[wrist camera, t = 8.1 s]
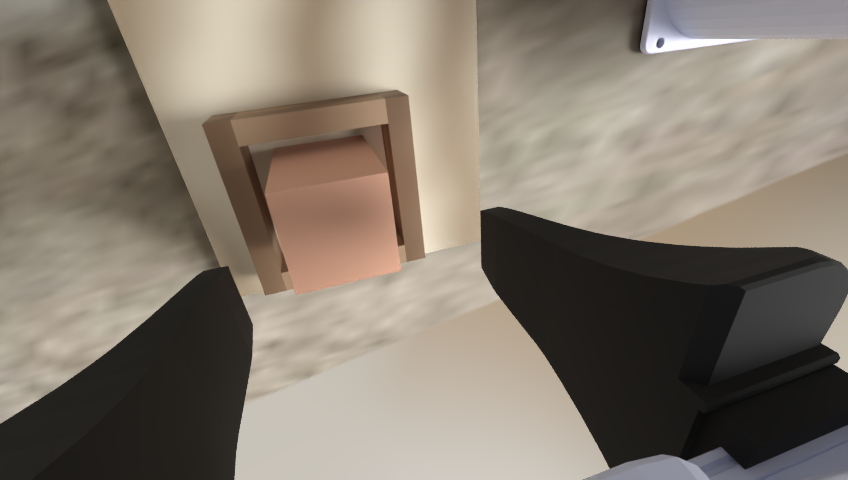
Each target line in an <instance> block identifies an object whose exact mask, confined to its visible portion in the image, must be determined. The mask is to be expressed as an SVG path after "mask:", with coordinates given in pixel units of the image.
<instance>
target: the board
mask: <svg viewBox="0 0 848 480" xmlns="http://www.w3.org/2000/svg"><path fill="white" fill-rule="evenodd" d="M107 1H108V3H109V6H110V8H111V10H112V13H113V15H114V17H115V20H116V22H117V25H118V27H119V29H120V32H121V34H122V36H123V39H124V41H125V43H126V46H127V48H128V50H129V53H130V55H131V57H132V60H133V62H134V64H135V67H136V69H137V72H138V74H139V76H140V79H141V81H142V83H143V86H144V88H145V90H146V93H147V95H148V97H149V100H150V102H151V104H152V107H153V109H154V112H155V114H156V116H157V119H158V121H159V123H160V126H161V128H162V130H163V133H164V135H165V137H166V140H167V142H168V144H169V147H170V149H171V151H172V154H173V156H174V159H175V161H176V163H177V166H178V168H179V170H180V173H181V175H182V177H183V180H184V182H185V184H186V187H187V189H188V191H189V194H190V196H191V199H192V201H193V203H194V206H195V208H196V210H197V213H198V215H199V217H200V220H201V222H202V224H203V227H204V229H205V231H206V234H207V236H208V239H209V241H210V243H211V246H212V248H213V250H214V253H215V255H216V257H217V260H218V262H219V264H220V267H225V266H228V267H229V269H230V272H231V274H232V276H233V279H234V281H235V284H236V286H237V288H238V291H239V293H240V295H241V296H245V295H249V294H254V293H258V292H262V291H264V293H265V295H269V294H273V293H278V292H282V291H286V290H290V289H294V287H293V284H292V280H291V277H290V274H289V271H288V267H287V264H286V261H285V258H284V255H283V251H282V248H281V245H280V242H279V238H278V235H277V232H276V229H275V226H274V222H273V219H272V216H271V213H270V209H269V206H268V203H267V200H266V197H265V190H266V185H267V180H268V176H269V171H270V166H271V161H272V156H273V152H274V148H278V147H284V146H291V145H298V144H304V143H311V142H317V141H324V140H331V139H337V138H344V137H350V136H357V135H363V137H364V138H365V140H366V141H367V143H368V144H369V146H370V147H371V148H372V150H373V151H374V153H375V154H376V156H377V157H378V159H379V160H380V161H381V163H382V164H383V166H384V167H385V169H386V170H387V172H388V176H389V184H390V191H391V198H392V206H393V213H394V221H395V228H396V236H397V243H398V251H399V258H400V263H404V262H408V261H413V260H417V259H421V258H425V253H429V252H433V251H437V250H441V249H446V248H450V247H454V246H458V245H463V244H467V243H471V242H476V241H480V240H481V231H480V178H479V124H478V70H477V17H476V0H107Z"/></svg>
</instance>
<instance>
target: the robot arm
mask: <svg viewBox="0 0 848 480" xmlns="http://www.w3.org/2000/svg"><path fill="white" fill-rule="evenodd" d="M757 39H848V0H648V2H647V8H646V14H645V20H644V26H643V32H642V38H641V43H640V50H641V52H642V53H643V54H654V53H662V52H669V51H676V50H684V49H691V48H698V47H705V46H713V45H720V44H727V43H735V42H742V41H749V40H757ZM658 40H659V43H658V45H657V46H656V43H657V41H658ZM480 216H481V264H482V269H483V271H484V273H485V275H486V276H487V278H488V280H489V282H490V284H491V285H492V287H493V289H494V290H495V292H496V293H497V295H498V296H499V297H500V299H501V300H502V301H503V302H504V304H505V305H506V306H507V307H508V309H509V310H510V311H511V313H512V314H513V315H514V316H515V318H516V319H517V320H518V321H519V323H520V324H521V325H522V326H523V328H524V329H525V330H526V331H527V333H528V334H529V335H530V337H531V338H532V339H533V340H534V342H535V343H536V344H537V346H538V347H539V348H540V350H541V351H542V352H543V354H544V355H545V357H546V358H547V360H548V361H549V363H550V365H551V366H552V368H553V369H554V371H555V373H556V374H557V376H558V377H559V379H560V381H561V382H562V384H563V385H564V387H565V389H566V391H567V392H568V394H569V395H570V397H571V399H572V401H573V402H574V404H575V406H576V408H577V409H578V411H579V413H580V414H581V416H582V418H583V420H584V421H585V423H586V425H587V427H588V429H589V431H590V432H591V434H592V436H593V438H594V440H595V442H596V443H597V445H598V447H599V449H600V451H601V452H602V454H603V456H604V458H605V460H606V462H607V464H608V466H609V468H610V469H609V470H606V471H604V472H601V473H599V474H596V475H593V476H591V477H588V478H586V479H584V480H848V373H847V372H845V371H843V370H842V369H840V368H838V367H837V366H835V365H834V364H835V363H837V362H838V360H839V359H840V357H839V354H838V353H837V352H835V351H833V350H832V349H830V348H828V347H827V346H825V345H823V344H821V342H822V340H823V338H824V336H825V335H826V333H827V331H828V330H829V328H830V326H831V324H832V322H833V321H834V319H835V317H836V316H837V314H838V312H839V311H840V309H841V307H842V305H843V303H844V301H845V298H846V296H847V294H848V270H847V268H846V267H845V266H844V265H843V264H842V263H841V262H839V261H836V260H834V259H831V258H829V257H827V256H824V255H822V254H819V253H817V252H814V251H812V250H808V249H804V248H799V247H770V248H769V247H767V248H766V247H765V248H724V247H700V246H685V245H672V244H664V243H654V242H645V241H638V240H631V239H626V238H620V237H614V236H609V235H604V234H599V233H594V232H590V231H586V230H582V229H578V228H574V227H570V226H567V225H563V224H560V223H556V222H553V221H549V220H546V219H543V218H540V217H536V216H533V215H530V214H526V213H523V212H520V211H516V210H512V209H508V208H503V207H496V208H491V209H487V210H482V211H480ZM252 345H253V324H252V322H251V319H250V317H249V315H248V312H247V310H246V307H245V305H244V303H243V300H242V298H241V295H240V293H239V291H238V288H237V286H236V284H235V281H234V279H233V276H232V274H231V272H230V269H229V267H228V266H225V267H220V268H216V269H211V270H207V271H203V272H202V273H200V274H199V275H197V276H196V277H195V278H194V279H192V280H191V281H190V282H189V283H188V284H187V285H185V286H184V287H183V288H182V289H181V290H180V291H179V292H178V293H176V294H175V295H174V296H173V297H172V298H171V299H170V300H169V301H168V302H166V303H165V304H164V305H163V306H162V307H161V308H160V309H159V310H157V311H156V312H155V313H154V314H153V315H152V316H151V317H150V318H148V319H147V320H146V321H145V322H144V323H142V324H141V325H140V326H139V327H138V328H136V329H135V330H134V331H133V332H132V333H130V334H129V335H128V336H127V337H125V338H124V339H123V340H122V341H121V342H119V343H118V344H117V345H116V346H115V347H113V348H112V349H111V350H109V351H108V352H107V353H106V354H104V355H103V356H102V357H100V358H99V359H98V360H96V361H95V362H94V363H92V364H91V365H90V366H88V367H87V368H85V369H84V370H82V371H81V372H80V373H78V374H77V375H75V376H74V377H73V378H71V379H70V380H68V381H67V382H65V383H64V384H62V385H61V386H60V387H58V388H57V389H55V390H54V391H52V392H50V393H49V394H47V395H46V396H44V397H42V398H41V399H39V400H38V401H36V402H34V403H33V404H31V405H30V406H28V407H27V408H25V409H23V410H22V411H20V412H19V413H17V414H15V415H14V416H12V417H11V418H9V419H7V420H6V421H4V422H3V423H1V424H0V480H234V476H235V459H236V449H237V442H238V434H239V429H240V423H241V418H242V412H243V406H244V401H245V395H246V390H247V384H248V378H249V373H250V367H251V360H252Z"/></svg>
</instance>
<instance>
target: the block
mask: <svg viewBox="0 0 848 480" xmlns="http://www.w3.org/2000/svg"><path fill="white" fill-rule="evenodd" d="M265 197H266V200H267V203H268V206H269V209H270V213H271V216H272V219H273V222H274V226H275V229H276V232H277V235H278V238H279V242H280V245H281V248H282V251H283V255H284V258H285V261H286V264H287V267H288V271H289V274H290V277H291V280H292V284H293V287H294V290H295V293H296V295H298V294H302V293H306V292H310V291H315V290H319V289H323V288H327V287H332V286H336V285H340V284H345V283H349V282H353V281H357V280H362V279H366V278H370V277H375V276H379V275H383V274H387V273H392V272H396V271H400V270H401V265H400V258H399V251H398V243H397V236H396V228H395V221H394V213H393V206H392V198H391V191H390V184H389V176H388V172H387V170H386V169H385V167H384V166H383V164H382V163H381V161H380V160H379V159H378V157H377V156H376V154H375V153H374V151H373V150H372V148H371V147H370V146H369V144H368V143H367V141H366V140H365V138H364V137H363V135H357V136H350V137H344V138H337V139H331V140H324V141H317V142H311V143H304V144H298V145H291V146H284V147H278V148H274V152H273V156H272V161H271V166H270V171H269V176H268V180H267V185H266V190H265Z"/></svg>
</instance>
